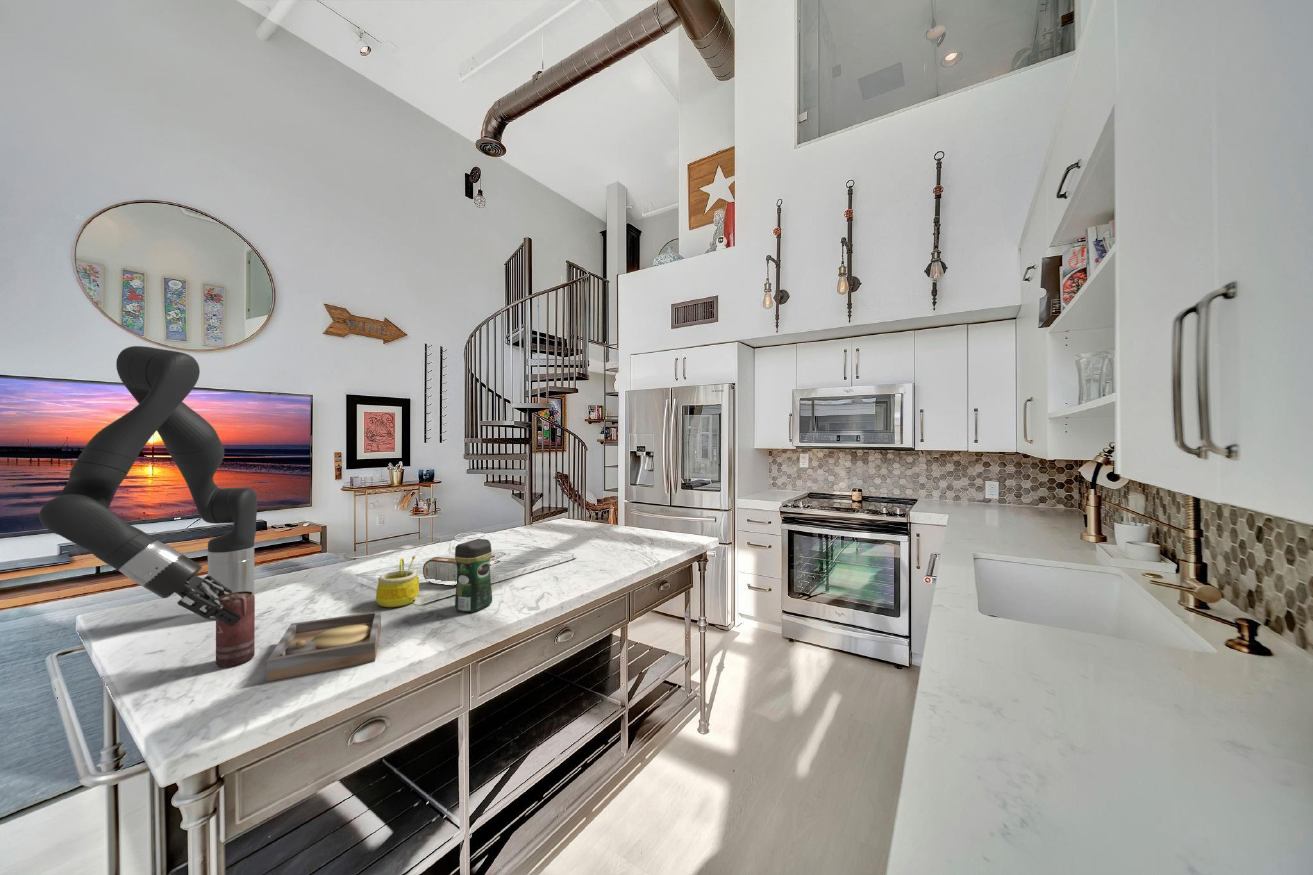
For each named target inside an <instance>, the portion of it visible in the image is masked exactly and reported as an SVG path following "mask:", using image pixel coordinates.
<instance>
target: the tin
mask: <svg viewBox="0 0 1313 875" xmlns="http://www.w3.org/2000/svg"><path fill="white" fill-rule="evenodd" d="M422 573H423V577H424V579H425V580H426V579H435V580H441V581H455V582H456V581H457V563H456V560H455V557H454V558H452V557H442V556H441V557H440V556H434V557H432V558H430V559H428V560H427V561H426V562H424V563H423V566H422Z"/></svg>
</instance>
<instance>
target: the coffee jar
mask: <svg viewBox="0 0 1313 875" xmlns="http://www.w3.org/2000/svg"><path fill="white" fill-rule="evenodd" d="M454 548H455V549H454V559H455V560H456V563H457V584H456V586H455V587H456V588H455V597H454V609H456V611H458V612H461V613H465V612H466V613H468V612H469V613H474V612H477V611H480V610H483V609H484V608H486V607H488V606H490V605H492V603H493V593H492V592H493V591H492V581H491V580H492V578H491V559H492V554H493V552H492V543H491V542H490V539H485V538H477V539H472V540H469V541H466V542H462V543H459V544H457V545H456V546H455V547H454Z"/></svg>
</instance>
